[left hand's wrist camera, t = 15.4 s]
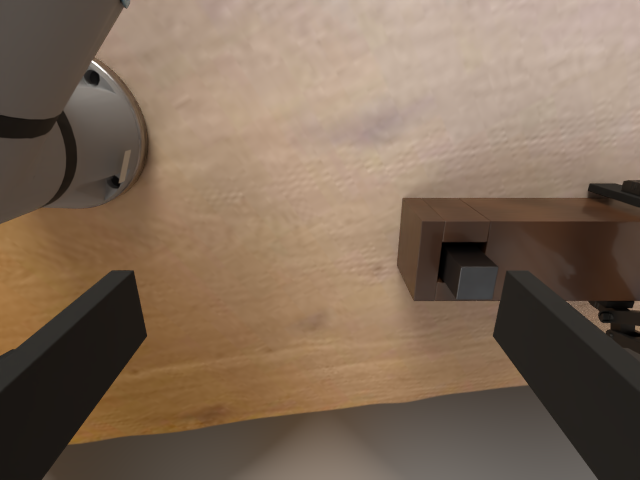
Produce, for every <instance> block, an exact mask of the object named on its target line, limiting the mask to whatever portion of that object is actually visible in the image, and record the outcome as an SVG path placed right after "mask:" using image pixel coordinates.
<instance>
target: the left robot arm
mask: <svg viewBox="0 0 640 480" xmlns="http://www.w3.org/2000/svg"><path fill="white" fill-rule="evenodd" d="M129 4H130V0H0V224H1V223H4V222H6V221H9V220H11V219H14V218H16V217H19V216H21V215H24V214H26V213H29V212H32V211H34V210H36V209H39V208H41V207H47V208H74V209H76V208H78V209H79V208H90V207H95V206H99V205H102V204H104V203H107V202H109V201H111V200H113V199H115V198H117V197H119V196H121V195H122V194H124V193H125V192H126V191H128V190H129V189H130V188H131V187H132V186H133V185H134V183H135V182H136V181H137V179H138V178H139V176H140V174H141V172H142V170H143V168H144V165H145V161H146V157H147V149H148V138H147V130H146V125H145V121H144V118H143V115H142V112H141V110H140V107H139V105H138V103H137V101H136V99H135V98H134V96H133V94H132V93H131V91H130V90H129V89H128V87H127V86H126V84H125V83H124V82H123V81H122V80H121V79H120V78H119V77H118V76H117V75H116V74H115V73H114V72H113V71H112V70H111V69H110V68H109V67H107V66H106V65H105V64H103V63H102V62H101V61H99V60H98V59H96V58H94V57H95V55H96V53H97V52H98V50H99V48H100V47H101V45H102V43H103V42H104V40H105V38H106V36H107V35H108V33H109V31H110V30H111V28H112V26H113V25H114V23H115V21H116V19H117V18H118V16H119V14H120V13H121V11H122V9H123V8H124V7H125V8H126V9H127V8H128V6H129ZM146 337H147V333H146V328H145V323H144V319H143V314H142V309H141V304H140V299H139V294H138V289H137V285H136V280H135V275H134V270H112V271H111V272H109V273H108V274H107V275H106V276H104V277H103V278H102V279H101V280H100V281H98V282H97V283H96V284H95V285H93V286H92V287H91V288H90V289H89V290H87V291H86V292H85V293H84V294H82V295H81V296H80V297H79V298H78V299H76V300H75V301H74V302H73V303H71V304H70V305H69V306H68V307H67V308H65V309H64V310H63V311H62V312H60V313H59V314H58V315H57V316H56V317H54V318H53V319H52V320H51V321H49V322H48V323H47V324H46V325H45V326H43V327H42V328H41V329H40V330H38V331H37V332H36V333H35V334H34V335H32V336H31V337H30V338H29V339H27V340H26V341H25V342H24V343H22V344H21V345H20V346H19V347H18V348H16V349H12V350H10V351H8V352H7V353H5V354H3V355H1V356H0V480H42V479H43V477H44V476H45V474H46V473H47V472H48V470H49V469H50V468H51V466H52V465H53V464H54V462H55V461H56V459H57V458H58V457H59V455H60V454H61V453H62V451H63V450H64V449H65V447H66V446H67V445H68V443H69V442H70V440H71V439H72V438H73V436H74V435H75V434H76V432H77V431H78V430H79V428H80V427H81V425H82V424H83V423H84V421H85V420H86V419H87V417H88V416H89V415H90V413H91V412H92V410H93V409H94V408H95V406H96V405H97V404H98V402H99V401H100V400H101V398H102V397H103V395H104V394H105V393H106V391H107V390H108V389H109V387H110V386H111V385H112V383H113V382H114V380H115V379H116V378H117V376H118V375H119V374H120V372H121V371H122V370H123V368H124V367H125V365H126V364H127V363H128V361H129V360H130V359H131V357H132V356H133V355H134V353H135V352H136V350H137V349H138V348H139V346H140V345H141V344H142V342H143V341H144V340H145V338H146ZM493 337H494V338H495V340H496V341H497V342H498V344H499V345H500V346H501V348H502V349H503V350H504V352H505V353H506V355H507V356H508V357H509V359H510V360H511V361H512V363H513V364H514V365H515V367H516V368H517V370H518V371H519V372H520V374H521V375H522V376H523V378H524V379H525V380H526V382H527V383H528V385H529V386H530V387H531V389H532V390H533V391H534V393H535V394H536V395H537V397H538V398H539V400H540V401H541V402H542V404H543V405H544V406H545V408H546V409H547V410H548V412H549V413H550V415H551V416H552V417H553V419H554V420H555V421H556V423H557V424H558V425H559V427H560V428H561V429H562V431H563V432H564V434H565V435H566V436H567V438H568V439H569V440H570V442H571V443H572V444H573V446H574V447H575V449H576V450H577V451H578V453H579V454H580V455H581V457H582V458H583V460H584V461H585V462H586V464H587V465H588V466H589V468H590V469H591V470H592V472H593V473H594V474H595V476H596V477H597V479H598V480H640V354H638V353H636V352H634V351H633V350H631V349H629V348H622V347H621V346H620V345H619V344H618V343H616V342H615V341H614V340H613V339H611V338H610V337H609V336H608V335H606V334H605V333H604V332H603V331H602V330H600V329H599V328H598V327H597V326H595V325H594V324H593V323H592V322H591V321H589V320H588V319H587V318H586V317H584V316H583V315H582V314H581V313H580V312H578V311H577V310H576V309H575V308H573V307H572V306H571V305H570V304H569V303H567V302H566V301H565V300H564V299H562V298H561V297H560V296H559V295H558V294H556V293H555V292H554V291H553V290H551V289H550V288H549V287H548V286H547V285H545V284H544V283H543V282H542V281H540V280H539V279H538V278H537V277H536V276H534V275H533V274H532V273H531V272H529V271H528V270H506V275H505V280H504V285H503V289H502V294H501V299H500V304H499V309H498V314H497V319H496V323H495V328H494V333H493Z"/></svg>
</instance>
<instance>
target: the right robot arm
mask: <svg viewBox="0 0 640 480" xmlns="http://www.w3.org/2000/svg"><path fill="white" fill-rule="evenodd" d="M588 191H591V192H594V193H597V194H600V195H603V196H606V197H609V198H612V199H615V200H618V201H621V202H624V203H627V204H630V205H633V206H636V207H640V180H628V181H624V182H623V185H619V184H590V185H589V189H588ZM634 302H635V301H589V303H590V304H591V305H592V306H593V307H595V308H596V309H598V310H599V311H600V312H599V314H598V317H599V320H600V321H601V322H602V323H611V330H607V331H606V335H608V336H609V337H610V338H611V339H613V340H614V341H615V342H616V343H618V344H619V345H620V346H621V347H622V348H629V349H631V350H633V351H634V352H636V353H638V354H640V332H639V331H637V330H635V325H636V326H640V311H635V310H629V309H627V308H633V305H634Z"/></svg>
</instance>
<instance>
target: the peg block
mask: <svg viewBox="0 0 640 480" xmlns="http://www.w3.org/2000/svg"><path fill="white" fill-rule="evenodd" d="M442 242H472V243H473V244H475V245H476V246H477V247H478V248H479V249H480V250H481V251H482V252H483V253H484V254H485V255H486V256H487V257H488V258H489V259H491V260H492V261H493V262H494V263H495V264H496V265H497V266H498V267H499V268H498V273H497V278H496V283H495V288H494V293H493V298H492V300H477V301H500V299H501V294H502V289H503V285H504V280H505V275H506V270H528V271H529V272H531V273H532V274H533V275H534V276H536V277H537V278H538V279H539V280H540V281H542V282H543V283H544V284H545V285H547V286H548V287H549V288H550V289H551V290H553V291H554V292H555V293H556V294H558V295H559V296H560V297H561V298H562V299H564V300H565V301H640V207H636V206H633V205H630V204H627V203H624V202H621V201H618V200H615V199H612V198H422V199H421V198H403V201H402V213H401V224H400V236H399V248H398V260H397V266H398V268H399V270H400V273H401V275H402V277H403V279H404V281H405V283H406V285H407V287H408V290H409V292H410V294H411V296H412V298H413V300H414V301H434V300H435V301H476V300H457V299H456V298H455V297H454V295H453V294H452V292H451V291H450V289H449V288H448V286H447V285H446V284H445V282H444V281H443V279H442V278H441V276H440V275H439V273H438V270H439V262H440V254H441V247H442Z"/></svg>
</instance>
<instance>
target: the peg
mask: <svg viewBox="0 0 640 480" xmlns="http://www.w3.org/2000/svg"><path fill="white" fill-rule="evenodd" d="M498 268H499V267H498V266H497V265H496V264H495V263H494V262H493V261H492V260H491V259H489V258H488V257H487V256H486V255H485V254H484V253H483V252H482V251H481V250H480V249H479V248H478V247H477V246H476V245H475V244H473V243H472V242H442V247H441V254H440V262H439V270H438V273H439V275H440V276H441V278H442V279H443V281H444V282H445V284H446V285H447V286H448V288H449V289H450V291H451V292H452V294H453V295H454V297H455V298H456V299H457V300H492V298H493V293H494V288H495V283H496V278H497V273H498Z"/></svg>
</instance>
